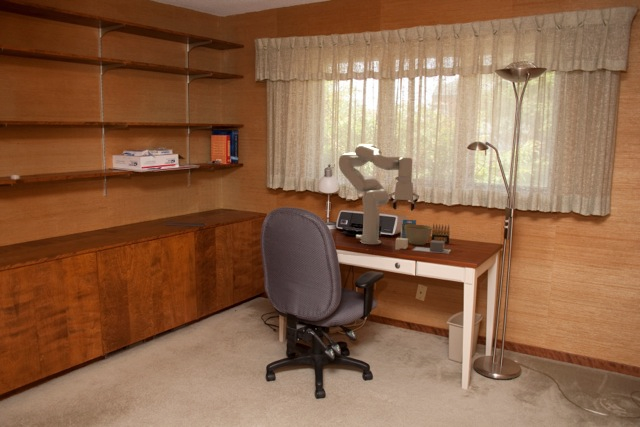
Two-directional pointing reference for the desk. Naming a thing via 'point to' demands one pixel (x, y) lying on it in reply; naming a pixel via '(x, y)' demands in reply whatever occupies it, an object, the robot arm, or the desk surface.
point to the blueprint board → (429, 250)
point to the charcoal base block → (437, 246)
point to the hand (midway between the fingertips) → (403, 209)
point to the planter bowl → (418, 233)
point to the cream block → (401, 243)
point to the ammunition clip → (436, 233)
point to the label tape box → (405, 225)
